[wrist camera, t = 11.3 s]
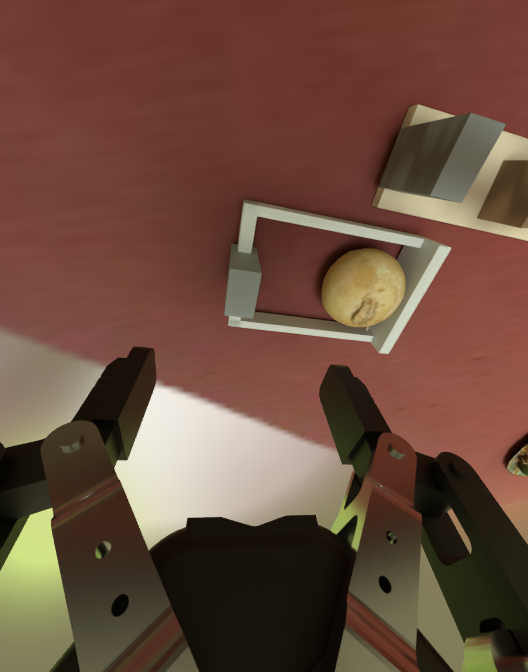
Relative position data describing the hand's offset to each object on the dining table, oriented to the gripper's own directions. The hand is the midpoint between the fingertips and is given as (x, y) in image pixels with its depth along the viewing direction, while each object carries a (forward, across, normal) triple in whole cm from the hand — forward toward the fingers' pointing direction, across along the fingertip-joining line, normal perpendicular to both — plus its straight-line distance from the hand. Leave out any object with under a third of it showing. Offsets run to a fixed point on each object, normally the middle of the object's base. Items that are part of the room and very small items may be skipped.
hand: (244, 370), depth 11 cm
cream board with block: (+17, -20, -10) cm, 28 cm away
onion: (+17, -12, +1) cm, 21 cm away
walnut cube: (+16, -23, -10) cm, 30 cm away
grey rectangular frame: (+17, -8, +1) cm, 19 cm away
